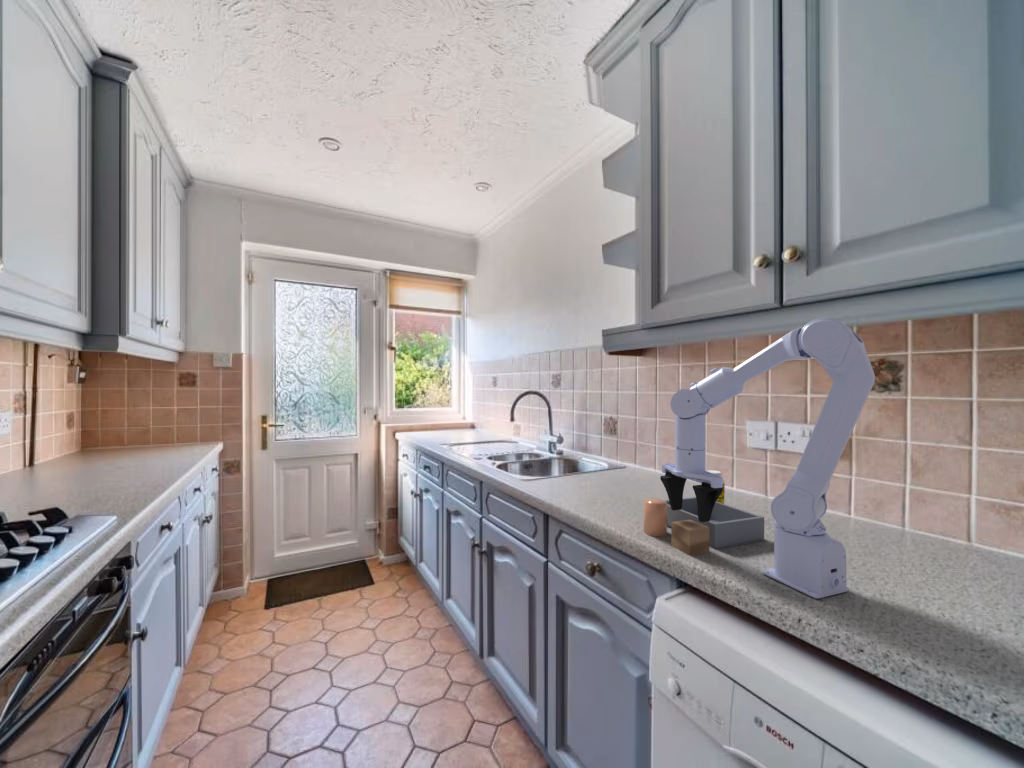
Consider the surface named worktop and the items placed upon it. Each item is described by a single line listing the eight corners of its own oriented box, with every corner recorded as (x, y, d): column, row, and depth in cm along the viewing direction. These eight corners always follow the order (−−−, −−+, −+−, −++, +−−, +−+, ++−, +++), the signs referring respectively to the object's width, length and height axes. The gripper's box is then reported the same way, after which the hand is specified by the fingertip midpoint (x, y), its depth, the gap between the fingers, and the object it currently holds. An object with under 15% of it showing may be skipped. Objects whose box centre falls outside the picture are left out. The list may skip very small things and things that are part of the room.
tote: (764, 540, 88) (764, 517, 88) (715, 549, 83) (715, 524, 83) (700, 516, 104) (701, 496, 104) (657, 521, 100) (657, 501, 100)
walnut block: (709, 552, 82) (709, 527, 82) (689, 555, 80) (689, 530, 80) (690, 543, 86) (690, 519, 87) (671, 546, 85) (671, 522, 85)
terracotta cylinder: (672, 535, 91) (672, 503, 91) (653, 537, 89) (653, 505, 89) (657, 527, 96) (657, 497, 96) (639, 530, 94) (639, 499, 94)
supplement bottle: (717, 514, 106) (717, 474, 106) (697, 508, 111) (697, 470, 111) (728, 510, 109) (728, 472, 109) (708, 505, 114) (709, 468, 114)
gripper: (650, 444, 89) (650, 506, 89) (702, 455, 75) (701, 529, 75) (676, 442, 91) (676, 503, 91) (731, 453, 78) (731, 525, 78)
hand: (689, 515), depth 83 cm, fingers open, 7 cm apart
